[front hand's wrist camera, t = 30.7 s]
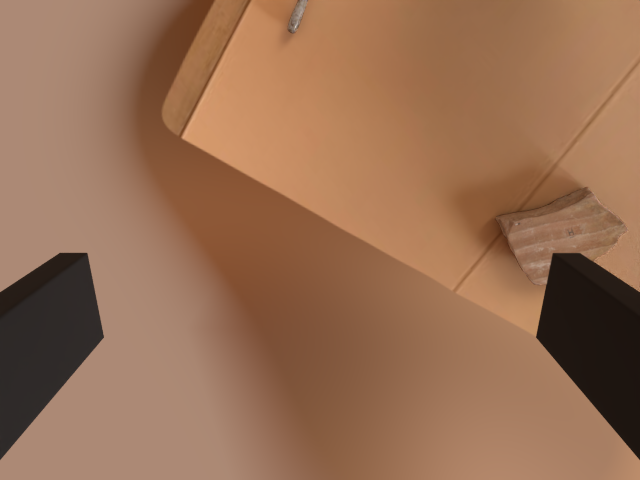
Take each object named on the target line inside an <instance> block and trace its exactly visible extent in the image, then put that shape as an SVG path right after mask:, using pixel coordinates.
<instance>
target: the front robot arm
mask: <svg viewBox="0 0 640 480" xmlns="http://www.w3.org/2000/svg"><path fill="white" fill-rule="evenodd" d="M103 338H104V335H103V330H102V325H101V320H100V315H99V310H98V305H97V300H96V295H95V290H94V285H93V280H92V275H91V269H90V264H89V259H88V254H87V253H59V254H58V255H56V256H55V257H53V258H52V259H50V260H49V261H47V262H46V263H44V264H43V265H41V266H40V267H38V268H36V269H35V270H33V271H32V272H30V273H29V274H27V275H26V276H24V277H23V278H21V279H20V280H18V281H17V282H15V283H14V284H12V285H11V286H9V287H8V288H6V289H5V290H3V291H2V292H0V459H1V458H2V457H3V456H4V455H5V454H6V452H7V451H8V450H9V449H10V448H11V446H12V445H13V444H14V443H15V442H16V441H17V439H18V438H19V437H20V436H21V435H22V434H23V432H24V431H25V430H26V429H27V428H28V426H29V425H30V424H31V423H32V422H33V420H34V419H35V418H36V417H37V416H38V415H39V413H40V412H41V411H42V410H43V409H44V408H45V406H46V405H47V404H48V403H49V402H50V400H51V399H52V398H53V397H54V396H55V394H56V393H57V392H58V391H59V390H60V389H61V387H62V386H63V385H64V384H65V383H66V381H67V380H68V379H69V378H70V377H71V376H72V374H73V373H74V372H75V371H76V370H77V368H78V367H79V366H80V365H81V364H82V363H83V361H84V360H85V359H86V358H87V357H88V356H89V354H90V353H91V352H92V351H93V349H94V348H95V347H96V346H97V345H98V344H99V343H100V341H101V340H102V339H103ZM536 338H537V339H538V340H539V341H540V343H541V344H542V345H543V346H544V347H545V348H546V350H547V351H548V352H549V353H550V354H551V356H552V357H553V358H554V359H555V360H556V361H557V363H558V364H559V365H560V366H561V367H562V368H563V370H564V371H565V372H566V373H567V374H568V376H569V377H570V378H571V379H572V380H573V382H574V383H575V384H576V385H577V386H578V387H579V389H580V390H581V391H582V392H583V393H584V395H585V396H586V397H587V398H588V399H589V400H590V402H591V403H592V404H593V405H594V406H595V408H596V409H597V410H598V411H599V412H600V413H601V415H602V416H603V417H604V418H605V419H606V420H607V422H608V423H609V424H610V425H611V426H612V428H613V429H614V430H615V431H616V432H617V433H618V435H619V436H620V437H621V438H622V439H623V441H624V442H625V443H626V444H627V445H628V447H629V448H630V449H631V450H632V451H633V452H634V454H635V455H636V456H637V457H638V458H639V460H640V292H638V291H637V290H635V289H634V288H632V287H631V286H629V285H628V284H626V283H625V282H623V281H622V280H620V279H619V278H617V277H616V276H614V275H613V274H611V273H610V272H608V271H607V270H605V269H604V268H602V267H601V266H599V265H597V264H596V263H594V262H593V261H591V260H590V259H588V258H587V257H585V256H584V255H582V254H581V253H553V254H552V259H551V264H550V269H549V275H548V280H547V285H546V290H545V295H544V300H543V305H542V310H541V315H540V320H539V325H538V330H537V335H536Z"/></svg>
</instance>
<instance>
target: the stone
mask: <svg viewBox="0 0 640 480" xmlns="http://www.w3.org/2000/svg"><path fill="white" fill-rule="evenodd" d="M495 219H496V221H497V222H498V223H499V225H500V228H501V230H502V232H503V234H504V236H505V237H506V238H507V239H508V244H509V247H510V249H511V251H512V252H513V254H514V255H515V256H516V259H517V261H518V263H519V266H520V267H521V269H522V270H523V271H524V272H525V274H526V275H527V276H528V278H529V279H530V281H531V282H532V283H533V284H535V285H545V284H547V280H548V275H549V269H550V264H551V259H552V254H553V253H581V254H582V255H584V256H585V257H587V258H588V259H590V260H591V261H593V262H594V260H595V259H597V258H598V257H600V256H602V255H604V254H606V253H607V252H608V251H609V250H611V249H612V248H613V247H614V246H615V245H616V243H617V240H618V237H619V236H620V235H622V234H623V233H625V232H627V230H628V229H627V227H626V225H625V223H624V222H623V221H622V220H621V219H620V218H619V217H618V216H617V215H615V214H614V213H613V212H612V211H611V210H609V209H608V208H606V207H605V206H604V205H603V204H602V203H600V201H599V200H598V199H597V197H596V196H595V194H594V193H593V192H592V191H591V190H590V189H589V188H588V187H585V188H583V189H581V190H578V191H576V192H573V193H571V194H570V195H568V196H565V197H563V198H559V199H557V200H555V201H554V202H552V203H551V204H550V205H546V206H544V207H541V208H539V209H534V210H530V211H523V212H515V213H511V214H505V215H500V216H497V217H496V218H495Z"/></svg>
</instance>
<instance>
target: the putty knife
mask: <svg viewBox="0 0 640 480" xmlns="http://www.w3.org/2000/svg"><path fill="white" fill-rule="evenodd" d="M307 1H308V0H298V2H297V4H296V6H295V9H294V11H293V13H292V16H291V19H290V21H289V24H288V28H287V29H288V31H289V32H291V33H295V32H296V31H297V28H298V26H299V24H300V21H301V19H302V16H303V13H304V10H305V7H306V4H307Z"/></svg>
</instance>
